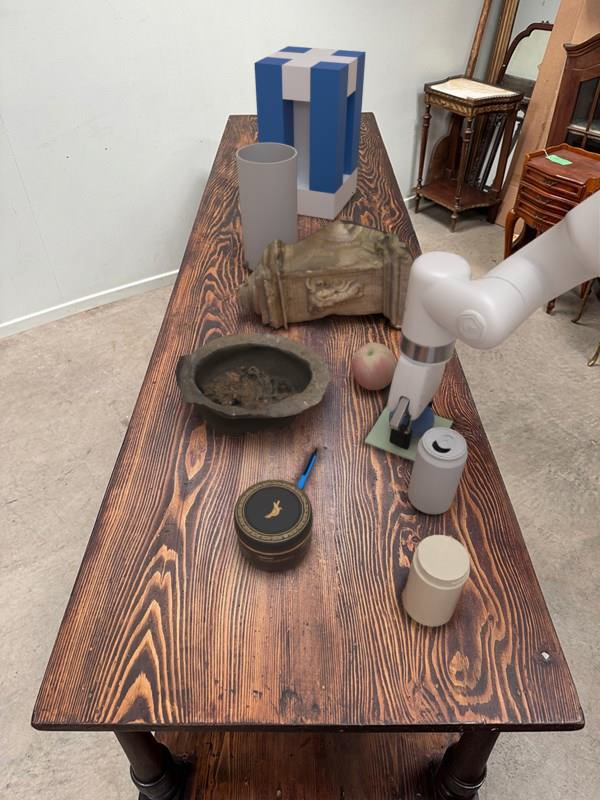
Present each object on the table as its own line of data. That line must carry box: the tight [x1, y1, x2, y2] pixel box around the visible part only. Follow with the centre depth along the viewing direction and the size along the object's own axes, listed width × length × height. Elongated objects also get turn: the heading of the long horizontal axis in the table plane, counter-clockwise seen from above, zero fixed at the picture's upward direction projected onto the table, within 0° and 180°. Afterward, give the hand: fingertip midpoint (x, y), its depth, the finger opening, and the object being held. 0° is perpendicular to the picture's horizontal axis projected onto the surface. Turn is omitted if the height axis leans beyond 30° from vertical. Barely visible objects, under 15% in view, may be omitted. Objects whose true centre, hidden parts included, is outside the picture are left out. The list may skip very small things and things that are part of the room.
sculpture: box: [235, 219, 416, 331], centre depth 107 cm, size 18×20×35 cm
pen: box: [296, 447, 319, 490], centre depth 77 cm, size 1×19×1 cm, turn 160°
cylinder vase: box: [235, 142, 299, 272], centre depth 119 cm, size 12×12×25 cm
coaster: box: [363, 405, 454, 462], centre depth 87 cm, size 11×11×1 cm
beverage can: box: [407, 427, 469, 515], centre depth 73 cm, size 6×6×12 cm
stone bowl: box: [174, 332, 331, 439], centre depth 89 cm, size 25×25×9 cm
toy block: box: [253, 45, 367, 221], centre depth 142 cm, size 21×21×35 cm
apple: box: [351, 341, 397, 391], centre depth 93 cm, size 8×8×8 cm
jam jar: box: [402, 534, 471, 628], centre depth 62 cm, size 6×6×10 cm
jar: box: [233, 479, 314, 573], centre depth 69 cm, size 10×10×8 cm
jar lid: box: [389, 405, 435, 438], centre depth 85 cm, size 7×7×2 cm
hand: (409, 430), depth 86 cm, fingers closed on jar lid, 6 cm apart
